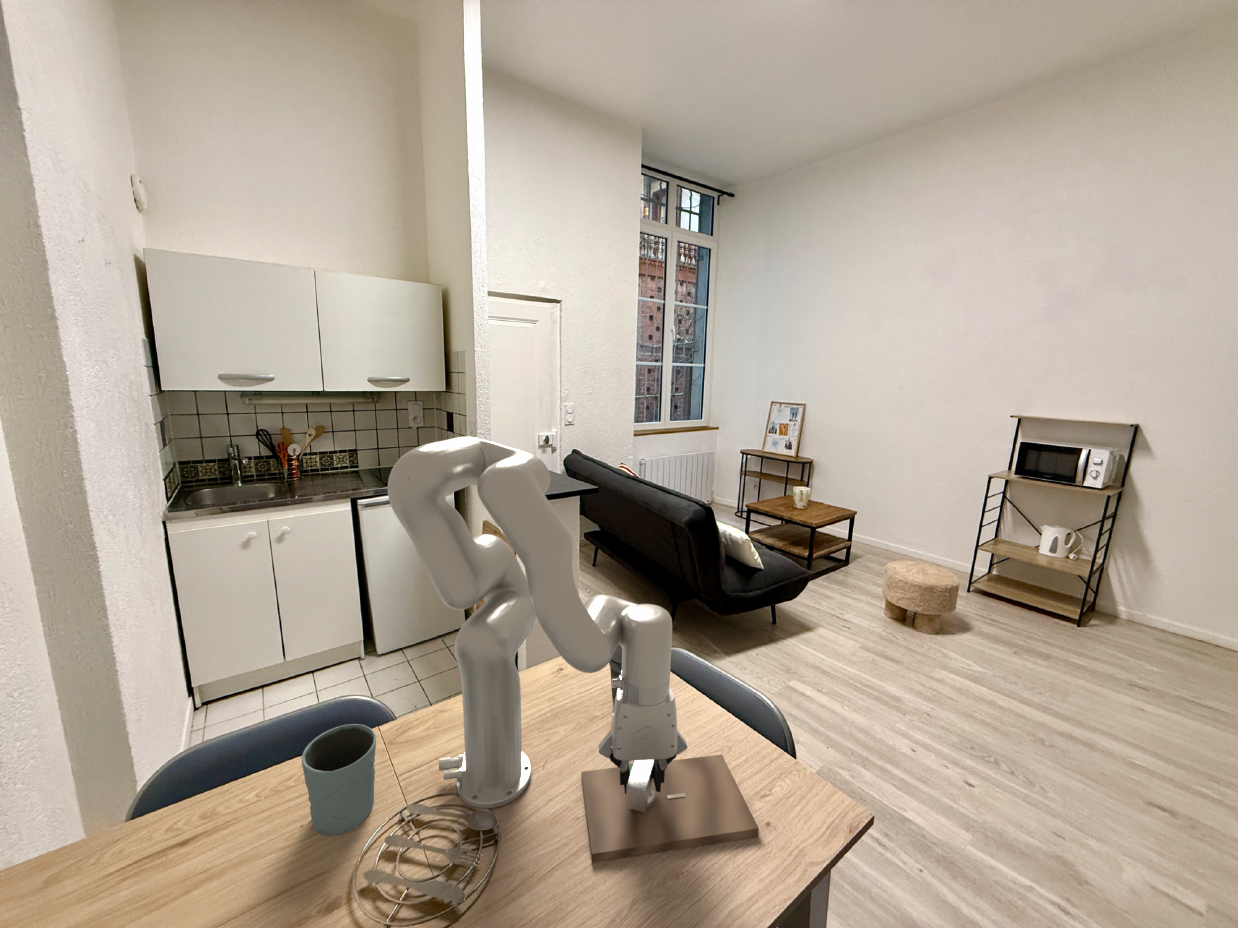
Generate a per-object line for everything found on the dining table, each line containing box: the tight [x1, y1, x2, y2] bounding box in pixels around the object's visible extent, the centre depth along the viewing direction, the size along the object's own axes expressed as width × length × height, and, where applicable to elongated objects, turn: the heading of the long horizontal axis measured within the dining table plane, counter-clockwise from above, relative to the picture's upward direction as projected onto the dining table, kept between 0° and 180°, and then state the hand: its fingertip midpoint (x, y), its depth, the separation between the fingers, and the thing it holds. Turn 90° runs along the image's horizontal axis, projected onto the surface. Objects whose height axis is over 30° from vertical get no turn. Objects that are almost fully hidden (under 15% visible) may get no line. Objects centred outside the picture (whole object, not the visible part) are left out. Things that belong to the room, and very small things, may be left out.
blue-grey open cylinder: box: [301, 723, 377, 837], centre depth 77 cm, size 10×10×12 cm
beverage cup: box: [608, 645, 622, 706], centre depth 103 cm, size 7×7×20 cm
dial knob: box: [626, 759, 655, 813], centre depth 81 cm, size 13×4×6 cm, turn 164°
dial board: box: [580, 754, 760, 863], centre depth 80 cm, size 26×15×2 cm, turn 100°
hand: (641, 784), depth 79 cm, fingers closed on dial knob, 4 cm apart
